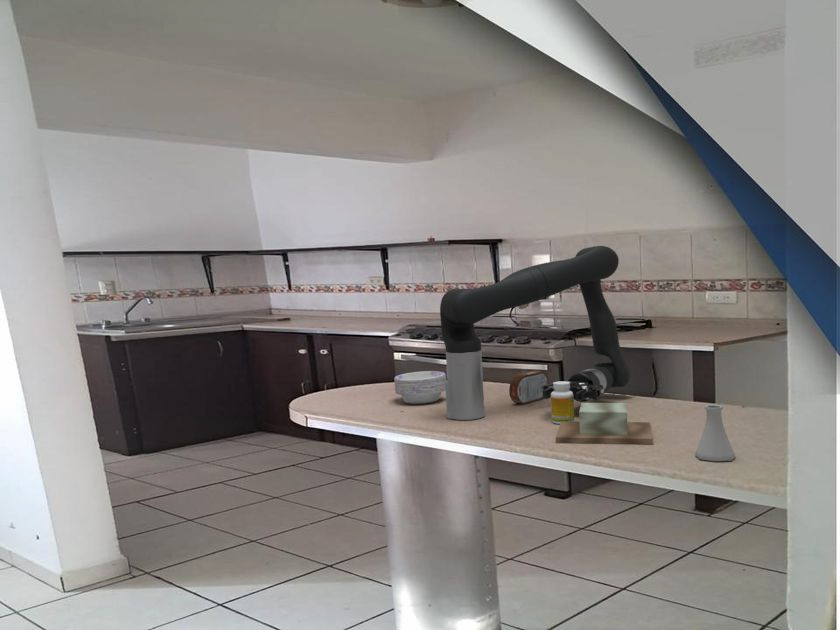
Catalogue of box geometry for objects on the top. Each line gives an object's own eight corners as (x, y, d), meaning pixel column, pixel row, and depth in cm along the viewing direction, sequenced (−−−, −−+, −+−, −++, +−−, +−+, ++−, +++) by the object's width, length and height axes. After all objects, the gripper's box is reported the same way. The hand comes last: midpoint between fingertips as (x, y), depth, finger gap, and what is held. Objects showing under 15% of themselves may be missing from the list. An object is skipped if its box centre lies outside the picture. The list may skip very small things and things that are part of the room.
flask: (736, 463, 130) (735, 410, 130) (694, 461, 133) (693, 409, 132) (734, 453, 137) (733, 402, 136) (695, 451, 140) (693, 402, 139)
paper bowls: (387, 400, 210) (386, 374, 210) (433, 394, 217) (432, 368, 216) (408, 409, 197) (406, 381, 196) (456, 401, 203) (454, 374, 202)
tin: (542, 396, 204) (541, 367, 203) (551, 397, 202) (550, 368, 201) (508, 405, 194) (507, 375, 193) (517, 406, 191) (516, 376, 191)
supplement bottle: (574, 424, 167) (572, 384, 167) (551, 424, 169) (549, 384, 168) (574, 419, 173) (572, 380, 172) (552, 419, 174) (550, 380, 173)
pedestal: (555, 442, 152) (554, 414, 152) (561, 426, 166) (560, 400, 166) (653, 444, 146) (652, 415, 146) (650, 427, 161) (649, 400, 160)
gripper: (561, 369, 187) (533, 379, 174) (613, 371, 178) (588, 382, 165) (562, 397, 187) (534, 409, 174) (614, 400, 179) (589, 413, 166)
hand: (560, 395), depth 170 cm, fingers open, 8 cm apart
